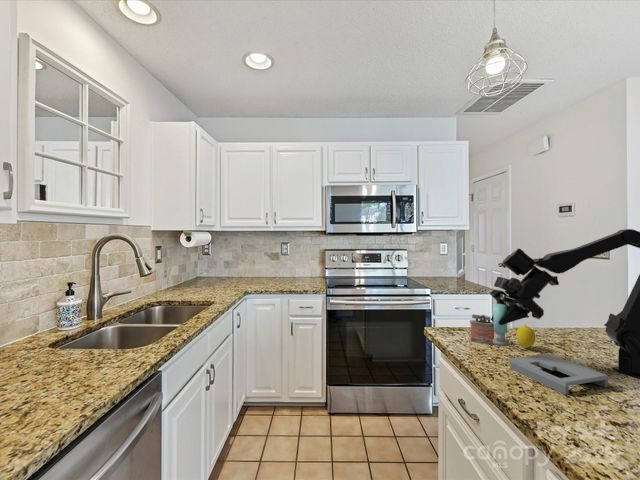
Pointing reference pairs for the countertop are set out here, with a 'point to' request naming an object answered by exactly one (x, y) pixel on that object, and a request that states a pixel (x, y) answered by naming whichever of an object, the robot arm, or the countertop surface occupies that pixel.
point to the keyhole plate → (555, 363)
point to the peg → (499, 329)
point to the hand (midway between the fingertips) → (495, 322)
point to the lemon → (525, 336)
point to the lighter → (482, 330)
